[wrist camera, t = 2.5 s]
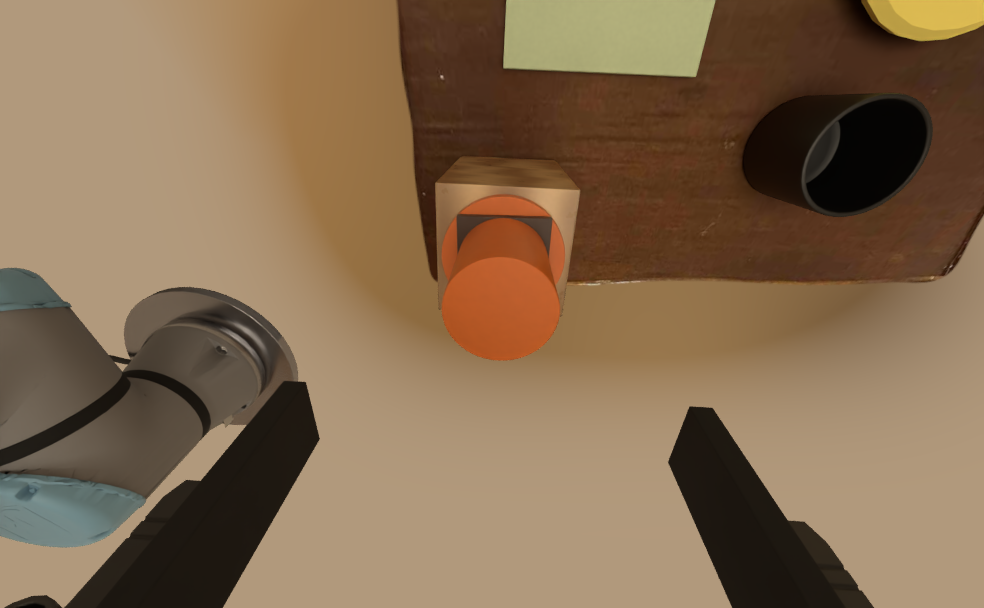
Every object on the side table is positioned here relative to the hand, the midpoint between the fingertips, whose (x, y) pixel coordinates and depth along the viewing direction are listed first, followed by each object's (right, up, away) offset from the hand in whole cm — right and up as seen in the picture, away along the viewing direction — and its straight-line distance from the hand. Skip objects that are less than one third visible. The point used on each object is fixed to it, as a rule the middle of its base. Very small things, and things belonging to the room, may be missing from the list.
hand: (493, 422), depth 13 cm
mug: (+32, +20, +25) cm, 45 cm away
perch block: (+1, +15, +29) cm, 33 cm away
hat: (+1, +8, +15) cm, 17 cm away
